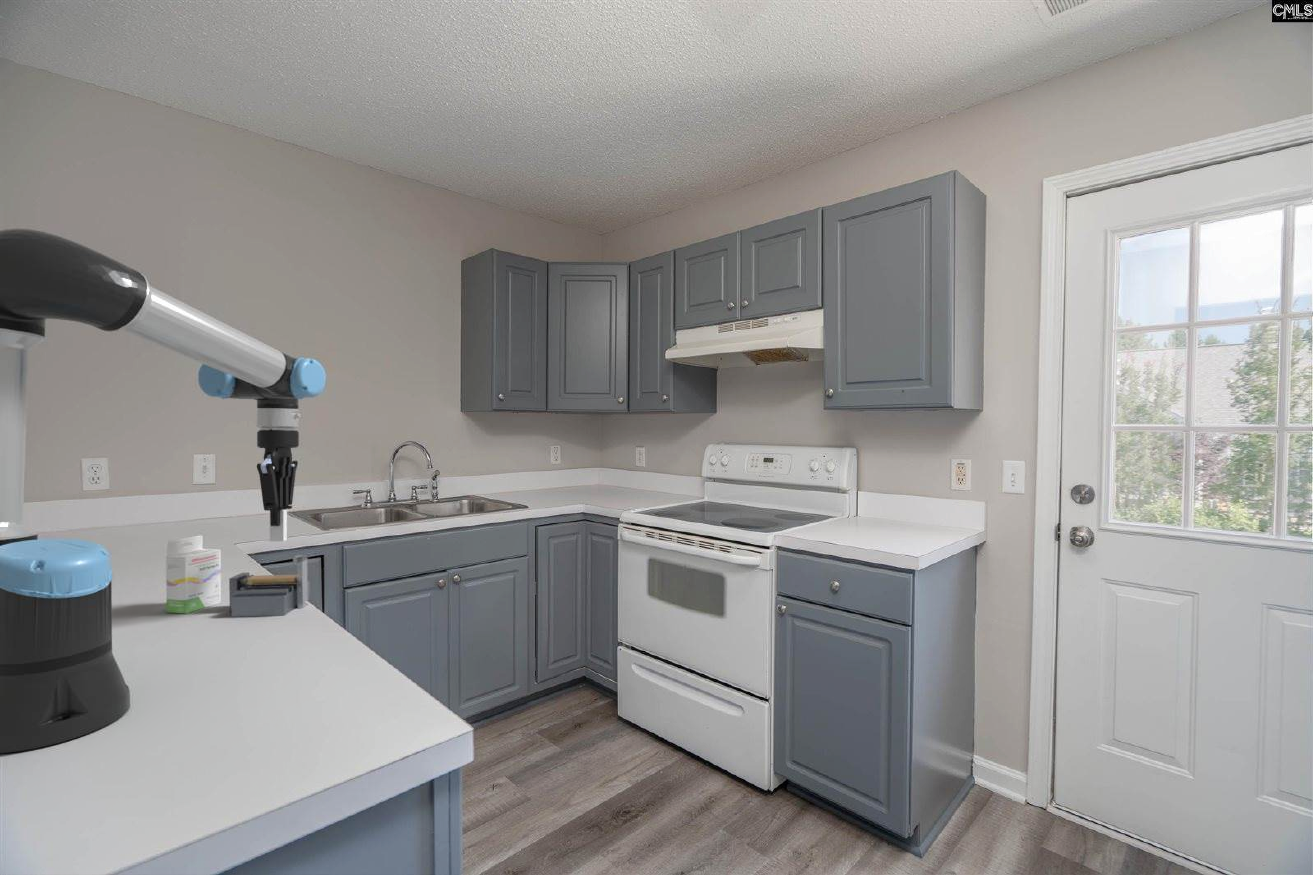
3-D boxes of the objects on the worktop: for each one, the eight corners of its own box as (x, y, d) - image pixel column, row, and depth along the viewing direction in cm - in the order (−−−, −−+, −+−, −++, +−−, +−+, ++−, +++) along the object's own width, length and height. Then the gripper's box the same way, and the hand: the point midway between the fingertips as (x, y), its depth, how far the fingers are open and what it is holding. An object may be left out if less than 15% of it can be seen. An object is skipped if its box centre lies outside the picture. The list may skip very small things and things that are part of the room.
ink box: (185, 614, 127) (184, 542, 127) (165, 613, 128) (164, 541, 128) (222, 602, 135) (221, 535, 135) (203, 601, 136) (202, 534, 136)
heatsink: (292, 615, 127) (291, 562, 126) (219, 617, 125) (219, 564, 125) (317, 598, 139) (316, 550, 138) (251, 600, 137) (250, 551, 137)
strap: (293, 583, 130) (293, 578, 130) (239, 585, 129) (238, 579, 129) (301, 578, 134) (301, 573, 134) (249, 580, 133) (249, 574, 133)
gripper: (282, 429, 125) (282, 546, 125) (310, 429, 138) (310, 535, 138) (242, 429, 124) (242, 546, 124) (274, 429, 137) (274, 535, 137)
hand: (278, 540), depth 131 cm, fingers closed
